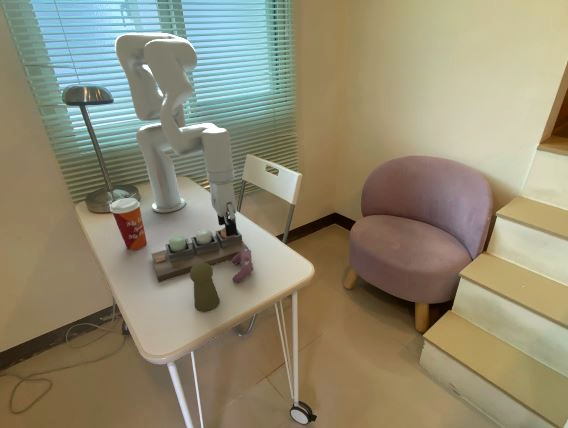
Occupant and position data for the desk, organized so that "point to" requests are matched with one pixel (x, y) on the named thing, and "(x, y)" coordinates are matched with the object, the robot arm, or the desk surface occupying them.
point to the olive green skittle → (204, 288)
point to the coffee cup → (129, 222)
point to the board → (196, 255)
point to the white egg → (203, 236)
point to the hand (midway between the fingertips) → (227, 229)
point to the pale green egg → (177, 244)
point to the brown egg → (223, 234)
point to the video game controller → (243, 265)
